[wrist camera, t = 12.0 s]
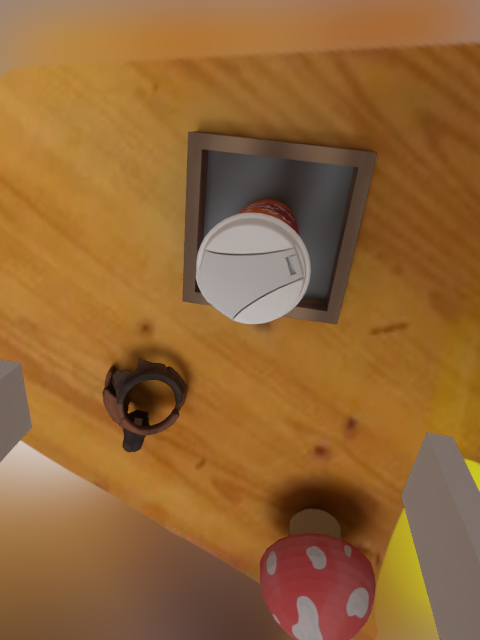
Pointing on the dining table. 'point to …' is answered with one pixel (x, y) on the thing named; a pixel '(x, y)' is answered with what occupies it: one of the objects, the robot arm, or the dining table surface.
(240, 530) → the dining table surface
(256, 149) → the tray
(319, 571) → the decorative mushroom
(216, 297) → the paper cup
